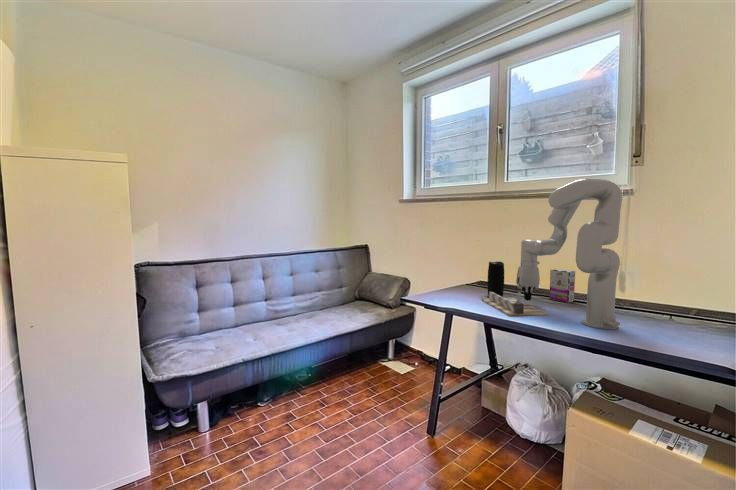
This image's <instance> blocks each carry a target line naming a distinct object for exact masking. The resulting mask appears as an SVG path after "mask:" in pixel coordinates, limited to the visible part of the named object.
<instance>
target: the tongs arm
mask: <svg viewBox="0 0 736 490" xmlns="http://www.w3.org/2000/svg"><path fill="white" fill-rule="evenodd" d="M521 294H522V293H521V292H520V291H519V292H517V295H516V299H517V301H516V303H520V301H521Z"/></svg>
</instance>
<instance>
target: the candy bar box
mask: <svg viewBox="0 0 736 490" xmlns="http://www.w3.org/2000/svg"><path fill="white" fill-rule="evenodd" d="M549 276H550V277H549V298H551V299H550V300H553V299H555V300H554V301H557V300H559V301H558V302H563V303H567V304H569V303H570V302H571V303H574V302H575V287H576V286H575V284H576V271H575V270H567V269H560V268H551V269H550V274H549ZM573 301H574V302H573Z"/></svg>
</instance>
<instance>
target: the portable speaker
mask: <svg viewBox="0 0 736 490" xmlns="http://www.w3.org/2000/svg"><path fill="white" fill-rule="evenodd" d="M504 289H505V263H504V262H503V261H489V262H488V268H487V296H488V297H489V292H493V293H495V294H498V295H500V296H502V297H504V291H505V290H504Z"/></svg>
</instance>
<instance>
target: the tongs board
mask: <svg viewBox="0 0 736 490" xmlns="http://www.w3.org/2000/svg"><path fill="white" fill-rule="evenodd" d="M481 301H482V302H484V303H486V304H487V305H489V306H491V307H492V308H493V309H496V310H497V311H499V312H501V313H502V314H504V315H506V316H507V317H532V316H533V317H534V316H535V317H536V316H537V317H538V316H539V317H540V316H543V317H544V316H548V312H546V311H543V310H542V309H539V308H538V307H535V306H533V305H530V304H529V303H527V302H524V301H522V300H520V303H516V301H517V297H516V298H515V297H504V296H503V297H502V296H500V295H498V294H495V293H493V292H489V296H488V298H481Z"/></svg>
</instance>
